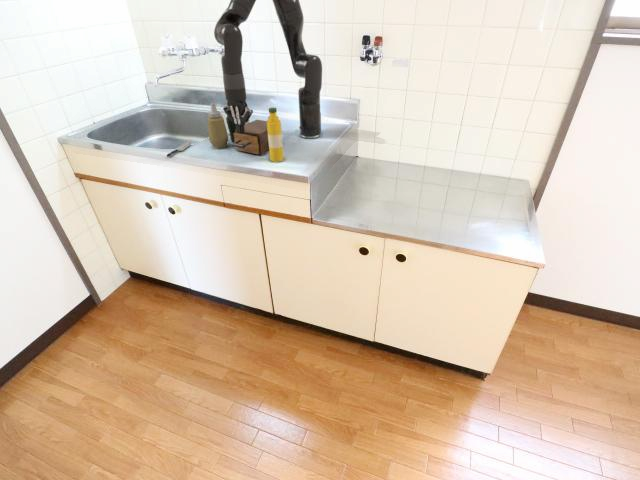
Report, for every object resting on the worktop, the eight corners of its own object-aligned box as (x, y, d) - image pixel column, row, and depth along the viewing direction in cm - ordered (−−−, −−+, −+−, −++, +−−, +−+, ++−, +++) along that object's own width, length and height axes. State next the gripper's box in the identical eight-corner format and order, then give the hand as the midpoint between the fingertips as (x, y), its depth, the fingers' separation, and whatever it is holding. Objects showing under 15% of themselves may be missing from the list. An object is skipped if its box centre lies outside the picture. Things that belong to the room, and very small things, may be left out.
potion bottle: (251, 138, 167) (246, 96, 157) (239, 144, 161) (233, 101, 151) (237, 135, 170) (231, 94, 160) (225, 140, 165) (218, 98, 154)
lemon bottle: (275, 155, 150) (270, 105, 138) (286, 158, 148) (282, 107, 136) (267, 160, 146) (262, 109, 135) (278, 163, 144) (274, 111, 133)
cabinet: (261, 155, 150) (259, 134, 145) (237, 150, 155) (234, 129, 150) (281, 143, 161) (280, 123, 156) (258, 139, 166) (256, 119, 161)
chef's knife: (196, 142, 165) (190, 141, 165) (196, 139, 164) (190, 138, 164) (173, 158, 149) (166, 157, 150) (172, 155, 149) (165, 154, 149)
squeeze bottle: (206, 146, 159) (198, 103, 149) (222, 141, 164) (215, 99, 154) (217, 151, 155) (209, 106, 145) (233, 145, 160) (226, 102, 149)
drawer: (249, 159, 145) (247, 141, 141) (227, 154, 149) (224, 137, 146) (276, 143, 159) (275, 127, 155) (255, 139, 163) (253, 123, 159)
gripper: (255, 85, 135) (260, 132, 145) (227, 82, 141) (233, 127, 150) (242, 90, 130) (248, 138, 140) (213, 86, 135) (221, 133, 145)
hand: (240, 133), depth 145 cm, fingers closed
